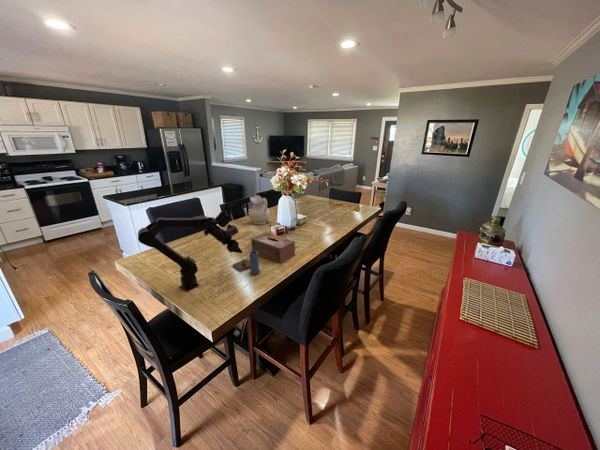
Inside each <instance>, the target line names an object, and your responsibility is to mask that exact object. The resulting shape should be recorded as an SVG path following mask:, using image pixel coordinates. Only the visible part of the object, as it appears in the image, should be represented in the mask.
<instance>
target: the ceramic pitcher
mask: <svg viewBox="0 0 600 450" xmlns="http://www.w3.org/2000/svg"><path fill="white" fill-rule="evenodd" d="M249 200H250V203H251V208H250V209H249V210H248V213H247V214H248V217H249V219H250V220H251V221H252V222H253V224H254V225H265V224H267V220H269V218H270V215H271V211H270V209H269V208H268V200H267V197H261V196H260V195H258V194H256V195H254V197H252V196H250V198H249Z"/></svg>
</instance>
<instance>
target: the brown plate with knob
mask: <svg viewBox="0 0 600 450" xmlns="http://www.w3.org/2000/svg"><path fill="white" fill-rule="evenodd" d="M232 267H233V268H235V269H236V270H237V271H239V272H244V271H245V270H248V269H251V267H250V259H248V258H246V259H245V258H242V259H241V260H240V261H237V262H235V263H232Z"/></svg>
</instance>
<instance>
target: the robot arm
mask: <svg viewBox="0 0 600 450" xmlns="http://www.w3.org/2000/svg"><path fill="white" fill-rule="evenodd" d="M231 221H232V218H231V217H230V216H229V215H227V213H225V212H224V211H222V210H221V211H220V212H219V213H218V214H217V216H216V217H211V216H206V215H204V214H203V215H197V216H193V217H162V216H161V217H158V218H156V219H155V220H154V221H153V222H150V223H149V224H148V225H146V226H145V227H142V228H139V230H138V232H137V240H138V242H139V243H140V244H142V245H144V246H147V247H150V248H152V249H154V250H157V251H158V252H160V253H161V254H162V255H164V256H165V257H167V258H168V259H169V260H171V261H173V262H174V263H175V264H177V265H178V266H179V267H180V269H179V273H180V276H181V277H180V284H181V285H180V286H179V287H180V289H183V290H184V291H186V292H189V291H191V290H193V289H194V288H197V287H198V286H199V283H198V281H197V276H196V274H197V273H198V270H199V267H198V265H197V262H196V260H195V259H194V258H191V256H189V255H187V256H186V257H185V256H183V255H182V254H180V253H178V252H177V251H176V250H174V249H173V248H172V247H170V246H169V245H167V243H165V242H164V241H162V240H161V239H160V238H159V237H158V235H159V233H160V232H161V231H162V230H163V229H165V228H194V229H197V230H203V235H204V236H205V237H207V236H208V235H210V236H211V237H213V238H214V239H216V240H217V242H219V243H221V244H222V245H223V246H226V250H227V251H228V252H229V253H236V254H242V253H243V250H242V249H241V248H240V247H239V245H240V243H239V242H238V241H237V240H236V239H234V238H233V236H235V235H237V234H239V233H240V231H239V229H238V228H237V226H236V225H234V224H232V225H231V224H230V222H231ZM223 228H226V229H223Z"/></svg>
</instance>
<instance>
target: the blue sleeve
mask: <svg viewBox="0 0 600 450" xmlns="http://www.w3.org/2000/svg"><path fill="white" fill-rule="evenodd" d="M249 261H250V267H251V268H250V274H251V275H252V276H257V275H259V274H260V265H259V254H258V251H252V250H251V251H249Z"/></svg>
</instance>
